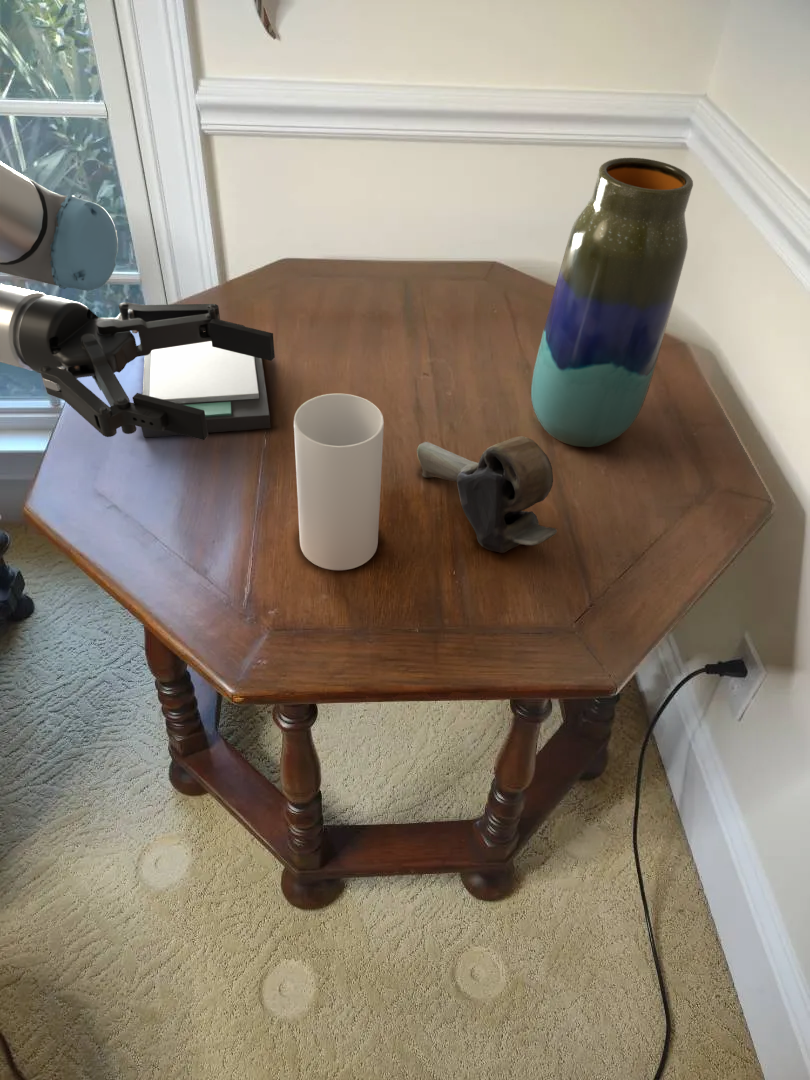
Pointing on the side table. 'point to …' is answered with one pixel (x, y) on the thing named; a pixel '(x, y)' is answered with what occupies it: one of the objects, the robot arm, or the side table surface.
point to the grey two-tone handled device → (497, 489)
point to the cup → (338, 479)
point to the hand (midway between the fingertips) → (240, 384)
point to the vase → (612, 302)
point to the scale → (209, 385)
